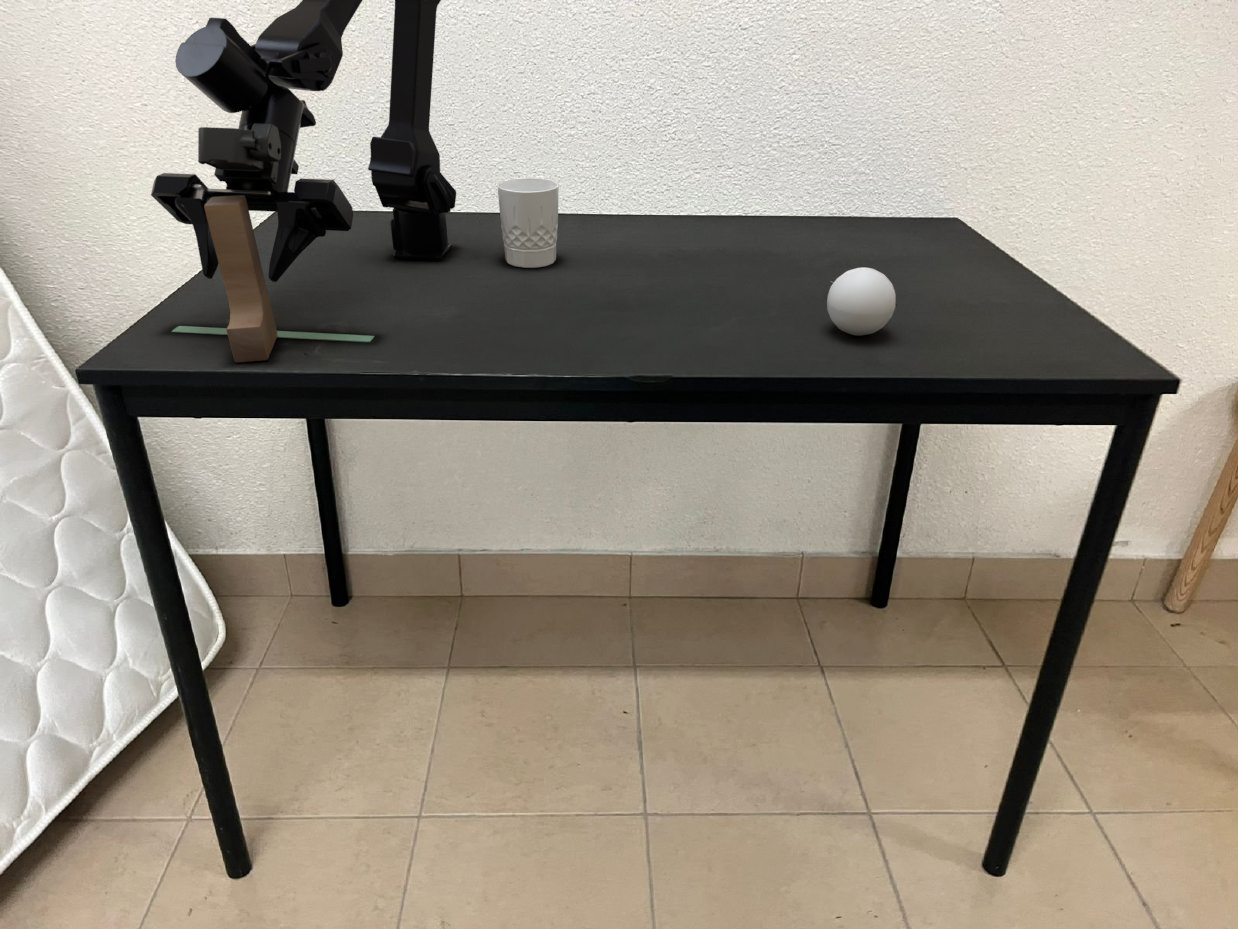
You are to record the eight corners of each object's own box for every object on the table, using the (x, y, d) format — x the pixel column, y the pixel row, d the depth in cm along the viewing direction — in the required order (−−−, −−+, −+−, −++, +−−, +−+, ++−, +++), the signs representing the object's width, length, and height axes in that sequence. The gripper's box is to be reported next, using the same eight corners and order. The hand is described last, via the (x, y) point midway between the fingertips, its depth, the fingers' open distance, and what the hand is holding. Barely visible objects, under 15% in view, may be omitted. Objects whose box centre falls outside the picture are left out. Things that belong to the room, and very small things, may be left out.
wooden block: (246, 338, 95) (210, 196, 88) (278, 335, 96) (245, 194, 88) (234, 363, 90) (195, 214, 82) (268, 360, 90) (232, 212, 82)
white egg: (901, 344, 97) (914, 279, 93) (836, 347, 96) (846, 281, 92) (865, 311, 105) (876, 249, 101) (805, 313, 104) (813, 252, 100)
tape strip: (374, 336, 96) (374, 335, 96) (369, 342, 95) (369, 341, 95) (179, 326, 98) (178, 325, 98) (171, 332, 96) (171, 331, 96)
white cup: (490, 265, 118) (485, 187, 113) (518, 248, 124) (515, 174, 119) (544, 273, 115) (542, 194, 110) (569, 255, 121) (568, 180, 116)
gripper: (136, 86, 85) (100, 234, 82) (325, 92, 84) (298, 243, 80) (195, 154, 96) (166, 287, 92) (364, 161, 95) (342, 296, 91)
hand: (239, 278), depth 89 cm, fingers open, 6 cm apart
